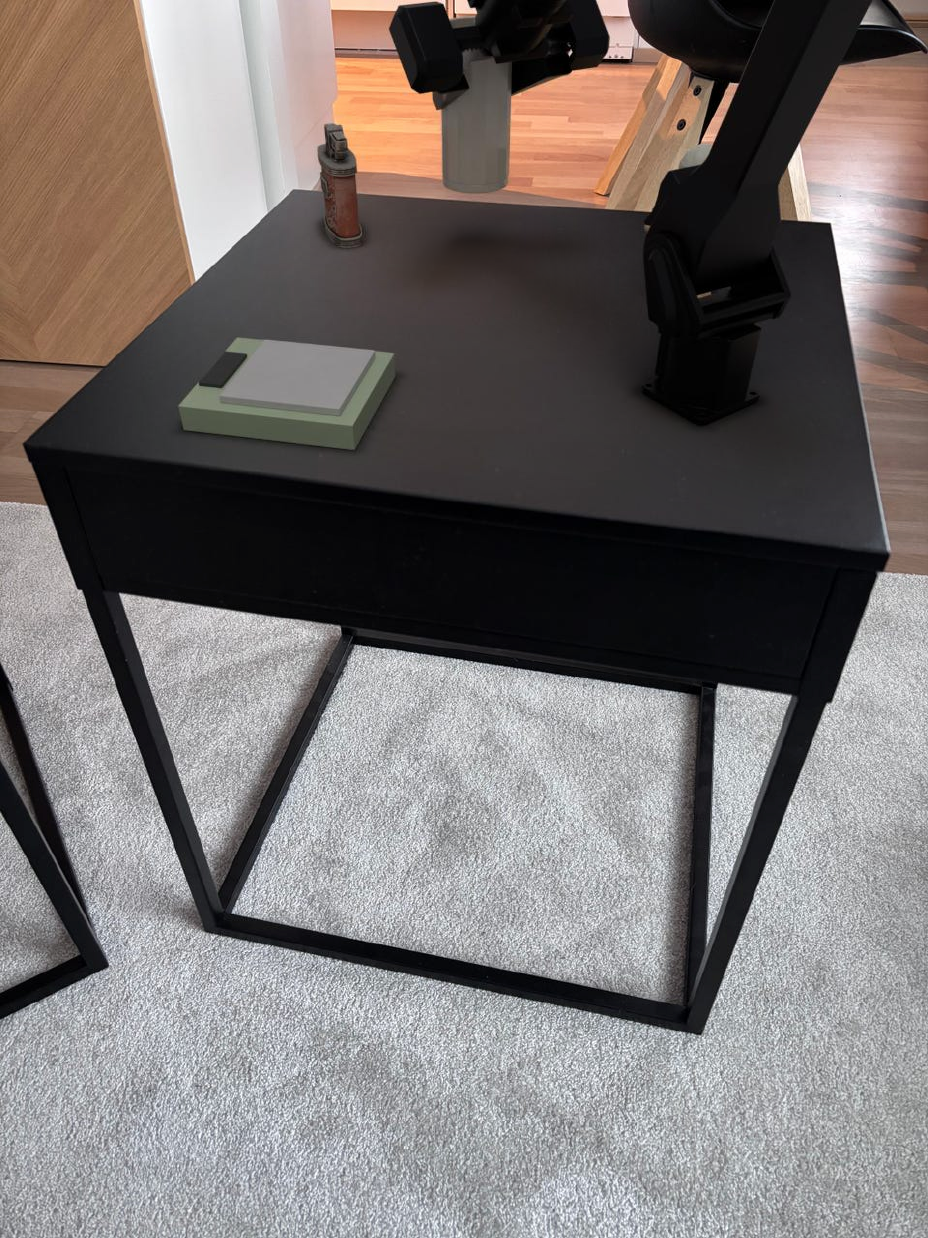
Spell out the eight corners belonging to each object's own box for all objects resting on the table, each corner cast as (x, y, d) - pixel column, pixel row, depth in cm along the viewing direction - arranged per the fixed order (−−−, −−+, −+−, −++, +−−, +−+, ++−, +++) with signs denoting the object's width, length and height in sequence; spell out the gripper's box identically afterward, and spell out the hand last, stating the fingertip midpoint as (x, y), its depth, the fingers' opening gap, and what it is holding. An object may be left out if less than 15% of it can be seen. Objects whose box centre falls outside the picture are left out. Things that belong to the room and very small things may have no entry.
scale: (395, 376, 74) (393, 345, 73) (354, 450, 66) (351, 417, 65) (241, 360, 76) (235, 329, 75) (183, 430, 69) (176, 398, 67)
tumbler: (521, 180, 90) (527, 22, 81) (479, 198, 86) (480, 34, 78) (471, 167, 93) (471, 13, 84) (428, 183, 89) (424, 24, 81)
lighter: (319, 221, 99) (308, 116, 92) (351, 217, 100) (342, 113, 93) (335, 249, 94) (324, 140, 87) (368, 245, 94) (360, 137, 88)
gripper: (603, -136, 75) (523, 5, 89) (392, -124, 68) (343, 27, 82) (652, -3, 75) (564, 117, 89) (447, 22, 68) (388, 147, 83)
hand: (468, 99), depth 86 cm, fingers closed on tumbler, 6 cm apart
